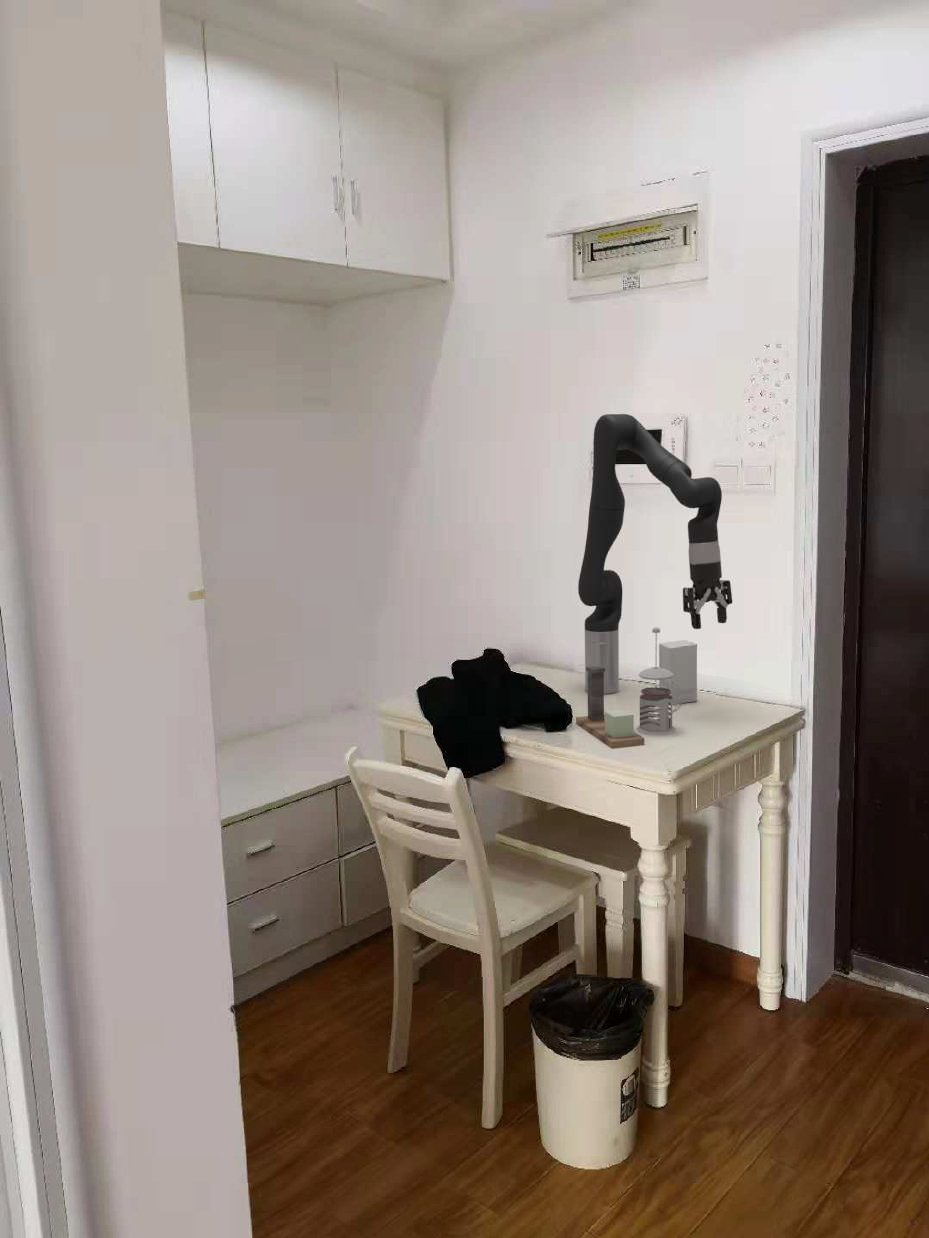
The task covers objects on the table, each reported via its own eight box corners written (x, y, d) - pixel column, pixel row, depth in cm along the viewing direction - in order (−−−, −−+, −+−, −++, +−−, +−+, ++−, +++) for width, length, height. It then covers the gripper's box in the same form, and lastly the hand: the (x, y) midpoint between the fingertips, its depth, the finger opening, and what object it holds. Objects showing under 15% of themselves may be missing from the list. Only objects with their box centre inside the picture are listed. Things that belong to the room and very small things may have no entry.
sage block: (604, 732, 243) (604, 711, 243) (624, 730, 245) (624, 709, 244) (613, 738, 239) (613, 716, 238) (633, 735, 240) (633, 714, 239)
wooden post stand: (576, 723, 257) (575, 666, 255) (606, 720, 259) (605, 663, 257) (611, 748, 236) (611, 686, 234) (644, 744, 238) (644, 683, 236)
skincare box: (685, 696, 280) (685, 639, 278) (698, 702, 274) (699, 643, 272) (657, 699, 278) (657, 642, 275) (670, 705, 272) (670, 646, 269)
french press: (650, 722, 257) (650, 622, 252) (691, 730, 249) (692, 627, 244) (626, 731, 250) (626, 628, 246) (668, 739, 242) (668, 633, 238)
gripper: (714, 556, 262) (719, 620, 264) (672, 564, 255) (677, 629, 257) (737, 556, 256) (741, 622, 258) (694, 564, 248) (699, 631, 250)
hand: (709, 625), depth 257 cm, fingers open, 8 cm apart
